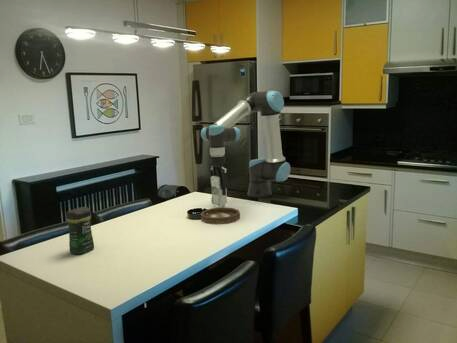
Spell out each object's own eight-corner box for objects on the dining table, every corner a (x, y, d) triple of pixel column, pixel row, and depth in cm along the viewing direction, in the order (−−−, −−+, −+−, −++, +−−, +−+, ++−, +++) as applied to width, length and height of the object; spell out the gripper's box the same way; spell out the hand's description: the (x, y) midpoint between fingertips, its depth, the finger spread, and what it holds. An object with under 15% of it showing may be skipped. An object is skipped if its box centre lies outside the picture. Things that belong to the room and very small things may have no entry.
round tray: (225, 210, 223) (225, 205, 223) (247, 218, 207) (247, 212, 207) (194, 217, 212) (193, 212, 212) (214, 226, 196) (214, 220, 196)
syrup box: (227, 203, 208) (226, 175, 206) (219, 205, 204) (218, 177, 202) (219, 201, 212) (218, 174, 210) (211, 204, 208) (210, 176, 206)
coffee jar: (80, 256, 165) (75, 212, 162) (66, 253, 168) (61, 210, 165) (98, 248, 173) (93, 206, 170) (84, 246, 177) (79, 204, 174)
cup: (223, 210, 225) (222, 196, 224) (208, 208, 230) (207, 194, 229) (229, 207, 231) (229, 193, 229) (215, 205, 236) (214, 192, 235)
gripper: (201, 154, 210) (203, 198, 214) (222, 158, 194) (224, 204, 198) (213, 153, 214) (215, 195, 218) (234, 156, 198) (236, 202, 202)
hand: (219, 200), depth 208 cm, fingers closed on syrup box, 6 cm apart
